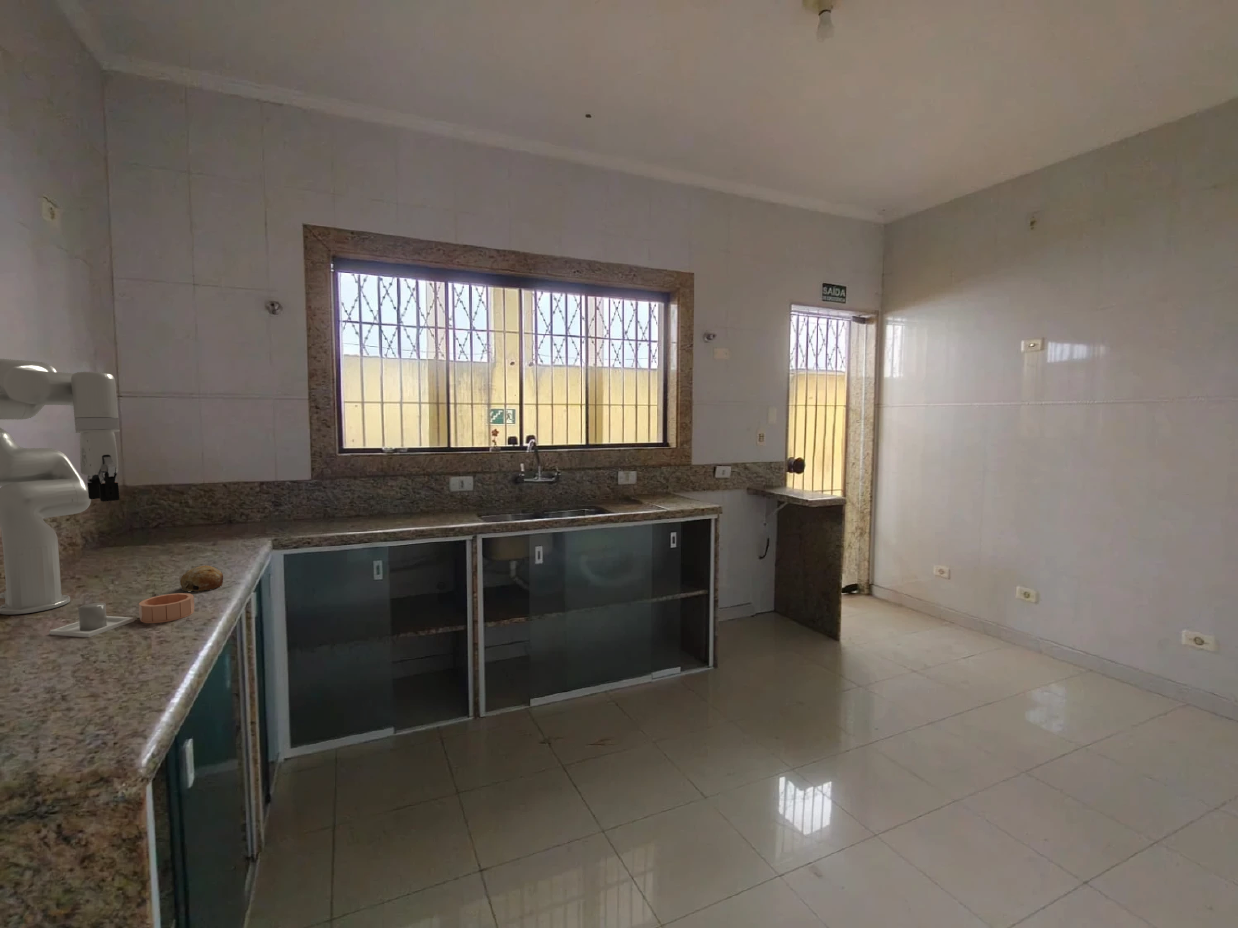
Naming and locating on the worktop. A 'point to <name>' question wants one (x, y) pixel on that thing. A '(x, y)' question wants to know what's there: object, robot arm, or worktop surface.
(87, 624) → the grey cylinder
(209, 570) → the bread roll
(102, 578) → the worktop surface
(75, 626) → the parts tray
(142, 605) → the bowl
